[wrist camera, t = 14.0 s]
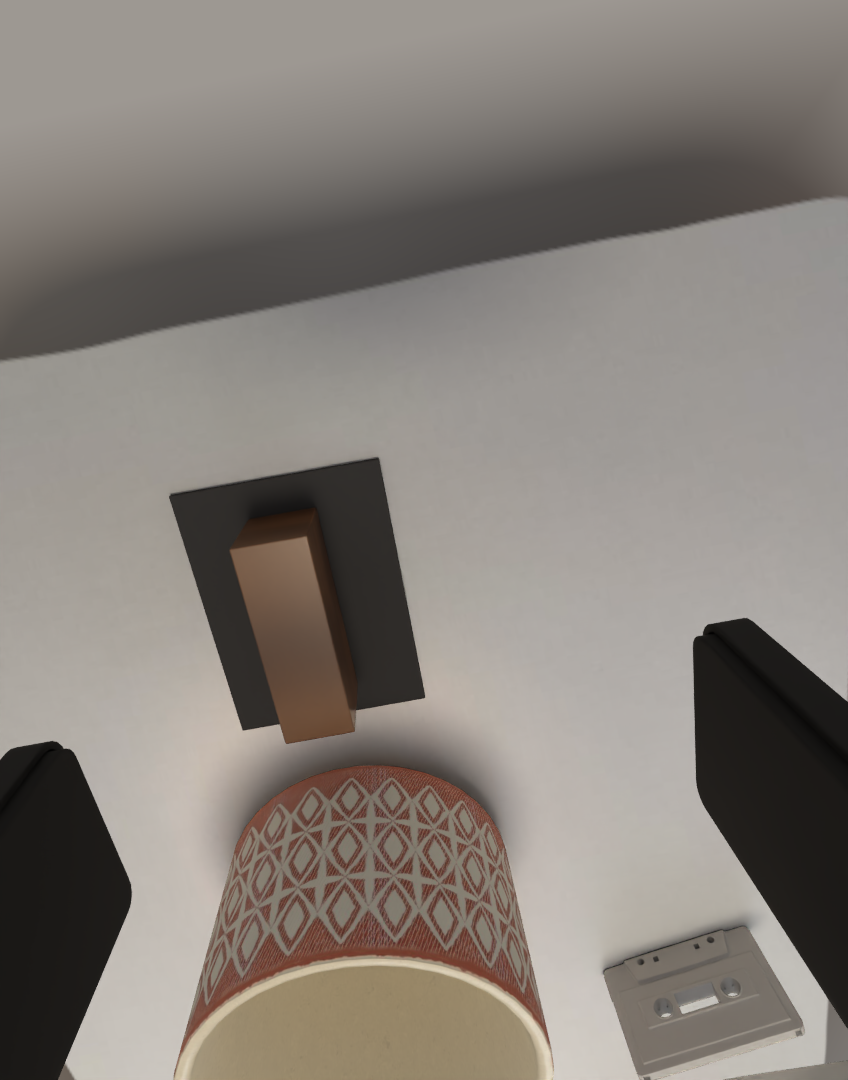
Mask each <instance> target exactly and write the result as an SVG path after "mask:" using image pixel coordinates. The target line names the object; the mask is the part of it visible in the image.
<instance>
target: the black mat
mask: <svg viewBox="0 0 848 1080" xmlns="http://www.w3.org/2000/svg"><path fill="white" fill-rule="evenodd" d="M169 498H170V501H171V504H172V508H173V511H174V514H175V517H176V520H177V523H178V527H179V530H180V533H181V536H182V539H183V542H184V546H185V549H186V552H187V555H188V558H189V561H190V565H191V568H192V571H193V574H194V577H195V580H196V584H197V587H198V590H199V593H200V596H201V599H202V603H203V606H204V609H205V612H206V615H207V618H208V622H209V625H210V628H211V631H212V634H213V637H214V641H215V644H216V647H217V650H218V653H219V656H220V660H221V663H222V666H223V669H224V672H225V675H226V679H227V682H228V685H229V688H230V691H231V695H232V698H233V701H234V704H235V707H236V710H237V714H238V717H239V720H240V723H241V726H242V729H243V730H249V729H254V728H260V727H266V726H271V725H277V724H280V722H279V719H278V716H277V712H276V709H275V705H274V702H273V698H272V695H271V692H270V688H269V685H268V681H267V678H266V674H265V671H264V667H263V664H262V661H261V657H260V654H259V650H258V647H257V643H256V640H255V637H254V633H253V630H252V626H251V623H250V619H249V616H248V613H247V609H246V606H245V602H244V599H243V595H242V592H241V588H240V585H239V582H238V578H237V575H236V571H235V568H234V564H233V561H232V558H231V554H230V551H229V550H230V548H231V546H232V545H233V543H234V541H235V540H236V538H237V537H238V535H239V534H240V532H241V530H242V529H243V527H244V526H245V524H246V522H247V521H248V520H249V519H253V518H259V517H264V516H270V515H275V514H281V513H287V512H292V511H298V510H303V509H309V508H317V512H318V516H319V521H320V525H321V529H322V533H323V538H324V542H325V546H326V550H327V555H328V559H329V563H330V567H331V572H332V576H333V580H334V584H335V589H336V593H337V597H338V601H339V606H340V610H341V614H342V618H343V623H344V627H345V631H346V635H347V640H348V644H349V648H350V652H351V657H352V661H353V665H354V669H355V674H356V678H357V682H358V689H357V705H356V710H361V709H366V708H372V707H377V706H383V705H389V704H394V703H400V702H405V701H411V700H417V699H422V698H425V694H424V689H423V684H422V679H421V674H420V668H419V663H418V658H417V653H416V648H415V643H414V638H413V632H412V627H411V622H410V617H409V612H408V607H407V602H406V596H405V591H404V586H403V581H402V576H401V571H400V566H399V560H398V555H397V550H396V545H395V540H394V535H393V529H392V524H391V519H390V514H389V509H388V504H387V499H386V493H385V488H384V483H383V478H382V473H381V468H380V463H379V458H377V459H372V460H366V461H361V462H355V463H349V464H344V465H338V466H332V467H327V468H321V469H316V470H310V471H304V472H299V473H293V474H287V475H282V476H276V477H271V478H265V479H259V480H254V481H248V482H243V483H237V484H231V485H226V486H220V487H214V488H209V489H203V490H198V491H192V492H186V493H181V494H175V495H171V496H169Z"/></svg>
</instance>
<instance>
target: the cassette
mask: <svg viewBox="0 0 848 1080" xmlns="http://www.w3.org/2000/svg"><path fill="white" fill-rule="evenodd" d="M604 978H605V981H606V984H607V987H608V990H609V993H610V996H611V999H612V1002H613V1003H614V1006H615V1009H616V1012H617V1015H618V1018H619V1021H620V1024H621V1027H622V1030H623V1033H624V1036H625V1039H626V1042H627V1045H628V1048H629V1051H630V1054H631V1057H632V1060H633V1063H634V1066H635V1069H636V1072H637V1074H638V1077H639V1079H640V1080H657V1079H661V1078H664V1077H667V1076H670V1075H674V1074H677V1073H680V1072H684V1071H687V1070H690V1069H693V1068H697V1067H700V1066H703V1065H707V1064H710V1063H713V1062H716V1061H720V1060H723V1059H726V1058H729V1057H733V1056H736V1055H739V1054H743V1053H746V1052H749V1051H752V1050H756V1049H759V1048H762V1047H766V1046H769V1045H772V1044H775V1043H779V1042H782V1041H785V1040H789V1039H792V1038H795V1037H798V1036H802V1035H804V1033H805V1030H804V1025H803V1022H802V1019H801V1018H800V1016H799V1014H798V1013H797V1011H796V1009H795V1007H794V1006H793V1004H792V1002H791V1001H790V999H789V997H788V996H787V994H786V992H785V991H784V989H783V987H782V985H781V984H780V982H779V980H778V979H777V977H776V975H775V974H774V972H773V970H772V969H771V967H770V965H769V964H768V962H767V960H766V958H765V957H764V955H763V953H762V951H761V950H760V948H759V946H758V944H757V943H756V941H755V939H754V938H753V936H752V934H751V933H750V931H749V930H748V929H747V928H746V927H738V928H735V929H732V930H729V931H726V932H724V931H723V930H720V931H717V932H714V933H711V934H707V935H704V936H701V937H698V938H695V939H692V940H689V941H685V942H682V943H679V944H676V945H673V946H670V947H666V948H663V949H660V950H657V951H654V952H651V953H648V954H644V955H641V956H638V957H635V958H632V959H629V960H626V961H624V964H622V965H619V966H615V967H612V968H609V969H607V970H605V972H604ZM730 993H737V994H738V995H736V996H728V994H730ZM713 996H716V997H717V999H718V1002H719V1003H717V1004H714V1005H711V1006H708V1007H705V1008H701V1009H698V1010H695V1011H692V1012H688V1013H685V1014H682V1013H681V1011H680V1008H679V1007H680V1006H684V1005H687V1004H690V1003H693V1002H696V1001H700V1000H703V999H706V998H709V997H713ZM666 1013H669V1014H671V1015H670V1016H668V1017H661V1016H662V1015H663V1014H666Z"/></svg>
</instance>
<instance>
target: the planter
mask: <svg viewBox="0 0 848 1080" xmlns="http://www.w3.org/2000/svg"><path fill="white" fill-rule="evenodd" d="M553 1073H554V1066H553V1059H552V1051H551V1046H550V1041H549V1037H548V1033H547V1028H546V1024H545V1020H544V1015H543V1011H542V1006H541V1002H540V998H539V993H538V989H537V985H536V980H535V976H534V972H533V967H532V963H531V958H530V954H529V950H528V945H527V941H526V937H525V932H524V928H523V924H522V919H521V915H520V911H519V906H518V902H517V897H516V893H515V889H514V884H513V880H512V876H511V871H510V867H509V863H508V858H507V854H506V849H505V846H504V844H503V841H502V838H501V835H500V833H499V831H498V829H497V827H496V826H495V824H494V822H493V821H492V819H491V817H490V816H489V815H488V814H487V812H486V811H485V810H484V809H483V808H482V807H481V806H480V805H479V804H478V803H477V802H476V801H475V800H474V799H473V798H471V797H470V796H469V795H467V794H466V793H465V792H464V791H462V790H461V789H459V788H457V787H455V786H454V785H452V784H450V783H448V782H446V781H445V780H443V779H440V778H437V777H435V776H432V775H429V774H427V773H424V772H420V771H416V770H411V769H407V768H402V767H393V766H381V765H372V766H354V767H348V768H342V769H336V770H331V771H328V772H325V773H322V774H319V775H315V776H312V777H309V778H307V779H305V780H303V781H301V782H299V783H297V784H295V785H292V786H290V787H289V788H287V789H286V790H284V791H283V792H281V793H280V794H278V795H277V796H275V797H274V798H272V799H271V800H270V801H269V802H268V803H267V804H266V805H265V806H263V807H262V808H261V809H260V810H259V811H258V812H257V813H256V814H255V816H254V817H253V818H252V820H251V821H250V822H249V823H248V825H247V826H246V827H245V829H244V831H243V833H242V835H241V837H240V839H239V841H238V843H237V845H236V848H235V851H234V855H233V858H232V862H231V866H230V869H229V873H228V877H227V880H226V884H225V888H224V891H223V895H222V899H221V902H220V906H219V910H218V914H217V917H216V921H215V925H214V928H213V932H212V936H211V939H210V943H209V947H208V950H207V954H206V958H205V962H204V965H203V969H202V973H201V976H200V980H199V984H198V987H197V991H196V995H195V998H194V1002H193V1006H192V1009H191V1013H190V1017H189V1021H188V1024H187V1028H186V1032H185V1035H184V1039H183V1043H182V1046H181V1050H180V1054H179V1057H178V1061H177V1065H176V1068H175V1072H174V1080H553Z"/></svg>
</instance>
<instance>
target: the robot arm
mask: <svg viewBox="0 0 848 1080" xmlns="http://www.w3.org/2000/svg"><path fill="white" fill-rule="evenodd" d="M693 665H694V709H695V752H696V783H697V788H698V792H699V795H700V798H701V801H702V803H703V805H704V807H705V808H706V810H707V812H708V813H709V815H710V816H711V818H712V819H713V821H714V822H715V824H716V825H717V827H718V829H719V830H720V832H721V833H722V835H723V836H724V838H725V839H726V841H727V843H728V844H729V846H730V847H731V849H732V850H733V852H734V853H735V855H736V856H737V858H738V860H739V861H740V863H741V864H742V866H743V867H744V869H745V870H746V872H747V874H748V875H749V877H750V878H751V880H752V881H753V883H754V884H755V886H756V888H757V889H758V891H759V892H760V894H761V895H762V897H763V898H764V900H765V901H766V903H767V905H768V906H769V908H770V909H771V911H772V912H773V914H774V915H775V917H776V919H777V920H778V922H779V923H780V925H781V926H782V928H783V929H784V931H785V932H786V934H787V936H788V937H789V939H790V940H791V942H792V943H793V945H794V946H795V948H796V950H797V951H798V953H799V954H800V956H801V957H802V959H803V960H804V962H805V963H806V965H807V967H808V968H809V970H810V971H811V973H812V974H813V976H814V977H815V979H816V981H817V982H818V984H819V985H820V987H821V988H822V990H823V991H824V993H825V994H826V996H827V998H828V999H829V1001H830V1002H831V1004H832V1005H833V1007H834V1008H835V1010H836V1012H837V1013H838V1015H839V1016H840V1018H841V1019H842V1021H843V1022H844V1024H845V1025H846V1027H847V1028H848V702H847V701H846V700H845V699H843V698H842V697H841V696H840V695H839V694H838V693H836V692H835V691H834V690H833V689H832V688H830V687H829V686H828V685H827V684H826V683H825V682H823V681H822V680H821V679H820V678H819V677H818V676H816V675H815V674H814V673H813V672H812V671H810V670H809V669H808V668H807V667H806V666H805V665H803V664H802V663H801V662H800V661H799V660H798V659H796V658H795V657H794V656H793V655H792V654H790V653H789V652H788V651H787V650H786V649H785V648H783V647H782V646H781V645H780V644H779V643H777V642H776V641H775V640H774V639H773V638H772V637H770V636H769V635H768V634H767V633H766V632H765V631H763V630H762V629H761V628H760V627H759V626H757V625H756V624H755V623H754V622H753V621H751V620H750V619H748V618H742V619H736V620H731V621H725V622H720V623H714V624H708V625H707V626H706V627H705V629H704V632H703V636H697V637H696V638H695V639H694V642H693ZM131 897H132V890H131V884H130V881H129V878H128V876H127V873H126V871H125V869H124V866H123V864H122V862H121V860H120V857H119V855H118V853H117V850H116V848H115V846H114V843H113V841H112V839H111V836H110V834H109V832H108V829H107V827H106V825H105V823H104V820H103V818H102V816H101V813H100V811H99V809H98V806H97V804H96V802H95V799H94V797H93V795H92V792H91V790H90V788H89V785H88V783H87V781H86V779H85V776H84V774H83V772H82V769H81V767H80V765H79V762H78V760H77V758H76V756H75V754H74V752H72V751H71V750H70V749H63V747H62V746H61V745H60V744H59V743H58V742H54V741H50V742H44V743H39V744H33V745H27V746H22V747H16V748H13V749H10V750H9V751H8V752H7V753H6V754H5V755H4V756H3V757H2V758H1V760H0V1080H58V1078H59V1076H60V1073H61V1071H62V1068H63V1066H64V1064H65V1061H66V1059H67V1057H68V1054H69V1052H70V1049H71V1047H72V1045H73V1042H74V1040H75V1037H76V1035H77V1033H78V1030H79V1028H80V1025H81V1023H82V1021H83V1018H84V1016H85V1014H86V1011H87V1009H88V1006H89V1004H90V1002H91V999H92V997H93V994H94V992H95V990H96V987H97V985H98V983H99V980H100V978H101V975H102V973H103V971H104V968H105V966H106V963H107V961H108V959H109V956H110V954H111V952H112V949H113V947H114V944H115V942H116V940H117V937H118V935H119V932H120V930H121V928H122V925H123V923H124V921H125V918H126V916H127V913H128V911H129V908H130V904H131ZM725 1080H848V1061H840V1062H834V1063H827V1064H821V1065H814V1066H807V1067H801V1068H794V1069H787V1070H781V1071H774V1072H768V1073H761V1074H754V1075H748V1076H742V1077H736V1078H730V1079H725Z"/></svg>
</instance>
